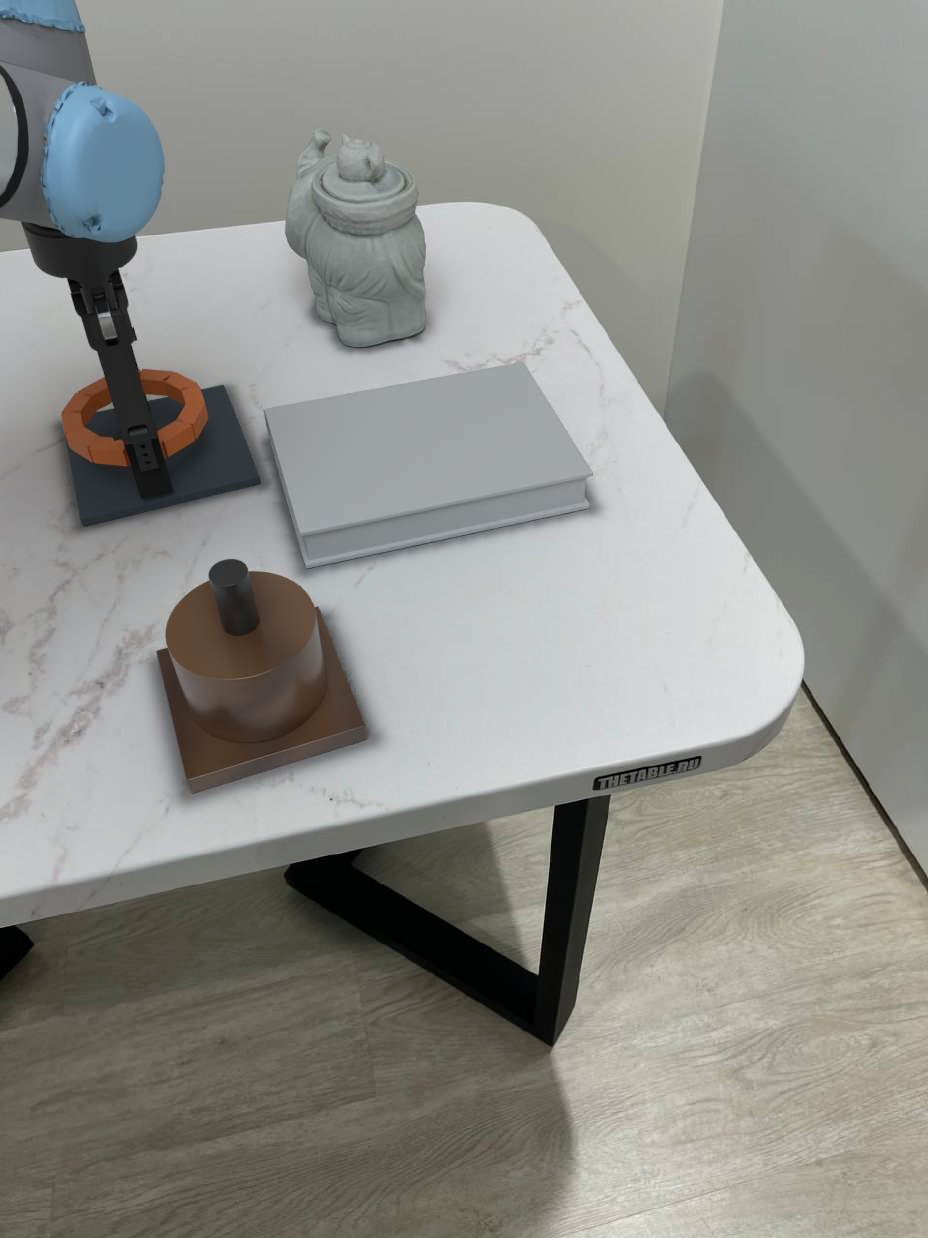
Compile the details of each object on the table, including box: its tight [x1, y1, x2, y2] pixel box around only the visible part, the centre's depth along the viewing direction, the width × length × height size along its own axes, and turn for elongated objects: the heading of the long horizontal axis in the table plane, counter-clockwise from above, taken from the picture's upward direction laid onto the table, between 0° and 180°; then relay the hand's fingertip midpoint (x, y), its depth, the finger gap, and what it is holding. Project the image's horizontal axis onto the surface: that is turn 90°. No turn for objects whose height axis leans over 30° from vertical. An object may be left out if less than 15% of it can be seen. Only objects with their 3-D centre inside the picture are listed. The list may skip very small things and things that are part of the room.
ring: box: [60, 368, 208, 466], centre depth 86 cm, size 12×12×2 cm
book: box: [263, 361, 594, 570], centre depth 87 cm, size 18×4×24 cm
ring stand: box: [155, 558, 368, 794], centre depth 66 cm, size 12×12×12 cm
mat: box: [64, 384, 262, 527], centre depth 90 cm, size 15×15×1 cm
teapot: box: [284, 127, 427, 348], centre depth 100 cm, size 16×15×19 cm
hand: (145, 451), depth 88 cm, fingers closed on ring, 11 cm apart
